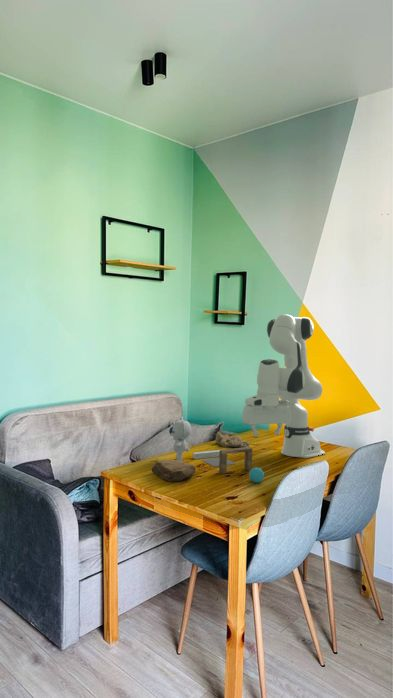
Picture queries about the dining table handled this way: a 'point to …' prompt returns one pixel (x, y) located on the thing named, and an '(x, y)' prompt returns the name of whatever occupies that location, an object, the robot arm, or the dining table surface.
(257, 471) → the ball
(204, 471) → the dining table surface
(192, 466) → the rock
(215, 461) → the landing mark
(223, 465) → the bridge
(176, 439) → the toy
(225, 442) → the figurine
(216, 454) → the white long bar
